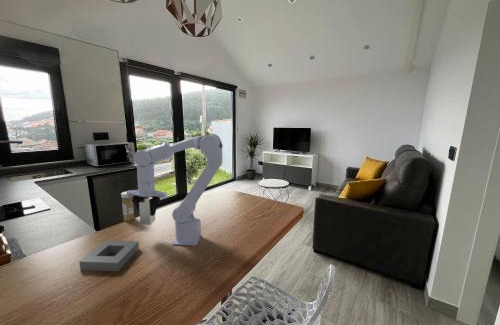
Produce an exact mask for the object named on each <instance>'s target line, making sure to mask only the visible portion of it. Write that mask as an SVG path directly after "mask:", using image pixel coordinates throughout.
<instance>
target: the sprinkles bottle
mask: <svg viewBox="0 0 500 325" xmlns="http://www.w3.org/2000/svg"><path fill="white" fill-rule="evenodd" d="M120 195H121V200H122V205H121V206H122V214H123V221H124V222H131V221H133V220H134V219H135V211H134V203H133V201H132V199H133V196H130V197H127V191H123V192H121V193H120ZM132 219H133V220H132Z"/></svg>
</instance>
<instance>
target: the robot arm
mask: <svg viewBox="0 0 500 325" xmlns="http://www.w3.org/2000/svg"><path fill="white" fill-rule="evenodd" d="M188 149H196V150H201V151H202V153H203V154H204V155H205V157H206V158H205V159H206V161H207V164H206V165H205V167H204V168H203V170H202V171H201V173H200V174H199V176H198V178H197V179H196V181H195V182H194V183H193V185H192V187H191V188H190V190H189V191H188V193H187V194H186V195H185V197H184V199H183V200H181V201H180V203H179V205H177V207H176V208H174V209H173V211H172V213H171V214H172V215H171V216H172V218H173V220H174V222H175V225H174V226H175V239H173V241H172V243H171V244H172V245H173V246H174V245H175V246H197V245H198V243H199V241H200V240H201V237H202V226H201V225H202V222H201V219H200V218H196V217H195V215H194V212H195V210H196V206H197V203H198V201H199V199H201V196H202V195H203V193H204V192H205V191H206V188H207V187H208V186H209V184H210V183H211V182H212V180H213V179H214V177H215V175H216V174H217V172H218V170H219V169H220V167H221V166H222V165H223V143H222V140H221V138H220V136H219V135H218V134H215V133H210V134H205V135H197V136H193V137H190V138H187V139H184V140H181V141H179V142H176V143H173V144H171V143H168V142H163V141H161V142H158V145H154V146H147V147H146V149H139V150H137V151H135V152H134V154H133V162H134V163H135V165H136V170H137V171H136V172H137V173H136V174H137V176H136V177H137V189H134V190H133V189H131V190H130V189H129V190H127V191H126V192H127V197H130V196H132V201H133V205H134V206H135V207H136V209H137V211H138V214H139V216H140V211H139V202H140V201H142V200H143V199H146V198H149V199H150V200H149V202H150V206H151V216H154V215H155V216H156V212H157V207H158V205H159V203H160V200H161V199H166V198H167V191H161V190H155V188H156V187H155V184H156V183H155V163H157V162H160V161H161V162H162V161H163V160H164V161H165V160H167V159H171V158H173V156H174V153H178V152H181V151H184V150H188Z"/></svg>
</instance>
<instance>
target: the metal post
mask: <svg viewBox="0 0 500 325" xmlns="http://www.w3.org/2000/svg"><path fill="white" fill-rule="evenodd" d="M150 199H151V198H144V199H143V200H142V201H140V202H139V211H140V215H139V224H140V225H145V226H151V225H152V224H154V222H155V221H156V214H155V215H154V216H151V206H150V202H149V200H150Z"/></svg>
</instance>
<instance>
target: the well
mask: <svg viewBox="0 0 500 325" xmlns="http://www.w3.org/2000/svg"><path fill="white" fill-rule="evenodd" d="M139 243H140V242H139V241H135V240H133V241H132V240H131V241H130V240H129V241H128V240H107V239H106V240H104V241H103V242H102V243H100V244H99V245H98V246H97V247H95V249H93V250H92V251H90V252H89V253H88V254H86V255H85V256H84V257H83V258H82V259H80V260H79V262H78V263H79V269H80V270H79V271H95V272H96V271H97V272H98V271H99V272H120V271H121V269H122V268H123V267H124V266H125V265H126V264H127V263H128V262H129V261H130V260H131V258H132V257H133V256H134V255H135V254H136V253H137V251H139V250H140V248H139V245H140V244H139ZM109 254H115V255H114V256H113V255H112V256H111V255H109ZM108 255H109V256H108Z"/></svg>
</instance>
